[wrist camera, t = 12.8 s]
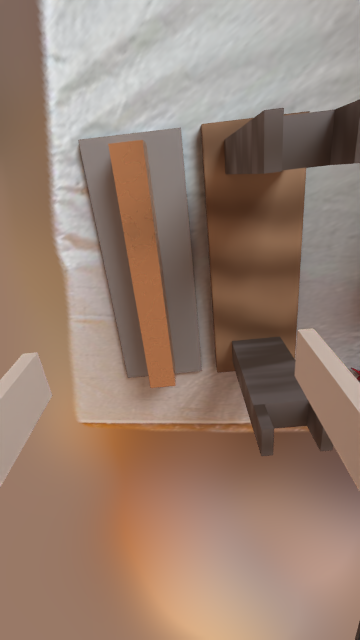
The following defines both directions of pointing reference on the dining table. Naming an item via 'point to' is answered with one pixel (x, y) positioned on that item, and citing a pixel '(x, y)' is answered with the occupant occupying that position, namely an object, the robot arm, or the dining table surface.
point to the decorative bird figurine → (358, 373)
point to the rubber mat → (172, 240)
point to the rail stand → (266, 251)
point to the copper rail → (144, 256)
